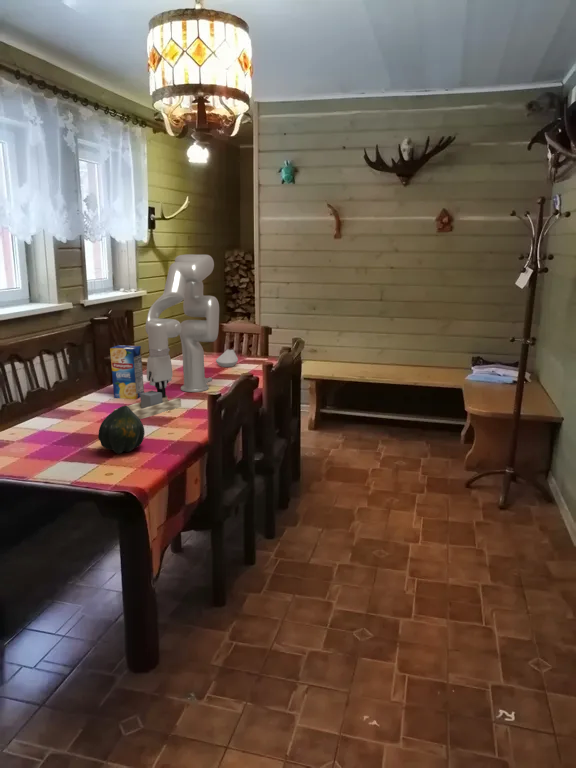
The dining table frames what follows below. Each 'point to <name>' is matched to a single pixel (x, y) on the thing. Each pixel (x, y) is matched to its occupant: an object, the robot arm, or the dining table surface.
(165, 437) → the dining table surface
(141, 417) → the birch chute
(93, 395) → the dining table surface
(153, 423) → the dining table surface
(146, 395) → the slate block
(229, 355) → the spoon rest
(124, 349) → the beverage box
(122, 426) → the squash
